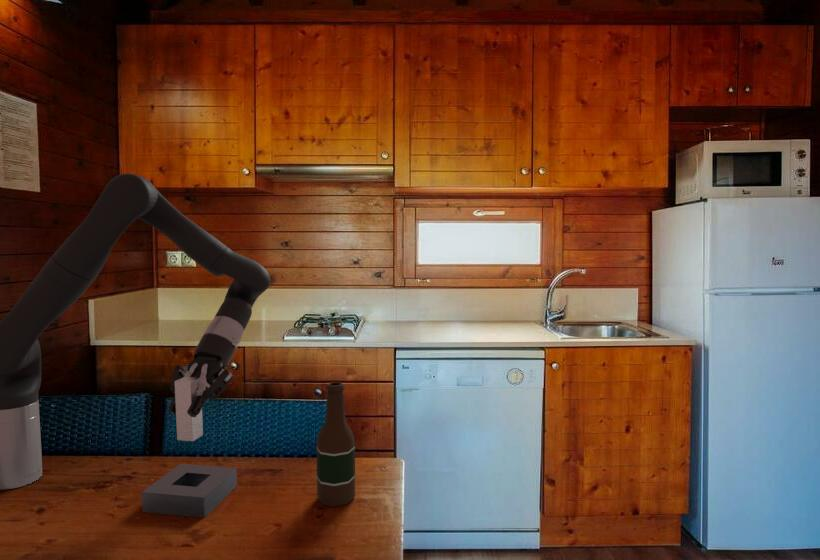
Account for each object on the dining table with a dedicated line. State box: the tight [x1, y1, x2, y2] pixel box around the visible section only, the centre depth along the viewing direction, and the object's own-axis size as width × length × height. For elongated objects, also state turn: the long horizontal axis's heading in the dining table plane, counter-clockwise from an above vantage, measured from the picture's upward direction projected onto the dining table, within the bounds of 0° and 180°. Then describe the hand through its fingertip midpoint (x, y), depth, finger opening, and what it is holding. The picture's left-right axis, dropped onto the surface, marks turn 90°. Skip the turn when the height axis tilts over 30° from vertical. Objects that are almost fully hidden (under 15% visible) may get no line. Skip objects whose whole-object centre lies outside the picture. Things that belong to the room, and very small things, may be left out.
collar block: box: [141, 463, 238, 518], centre depth 109 cm, size 13×13×4 cm
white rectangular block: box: [174, 377, 204, 442], centre depth 108 cm, size 4×4×12 cm
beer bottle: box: [316, 381, 356, 508], centre depth 109 cm, size 8×8×24 cm
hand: (182, 413), depth 106 cm, fingers closed on white rectangular block, 4 cm apart
